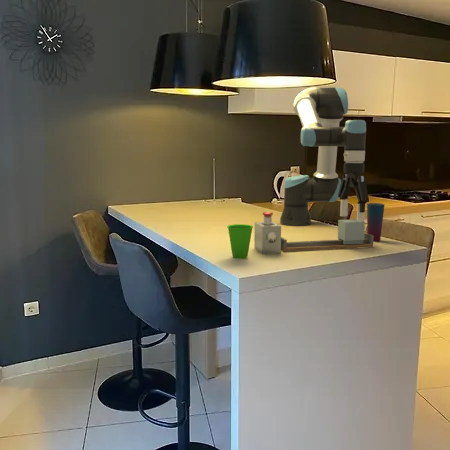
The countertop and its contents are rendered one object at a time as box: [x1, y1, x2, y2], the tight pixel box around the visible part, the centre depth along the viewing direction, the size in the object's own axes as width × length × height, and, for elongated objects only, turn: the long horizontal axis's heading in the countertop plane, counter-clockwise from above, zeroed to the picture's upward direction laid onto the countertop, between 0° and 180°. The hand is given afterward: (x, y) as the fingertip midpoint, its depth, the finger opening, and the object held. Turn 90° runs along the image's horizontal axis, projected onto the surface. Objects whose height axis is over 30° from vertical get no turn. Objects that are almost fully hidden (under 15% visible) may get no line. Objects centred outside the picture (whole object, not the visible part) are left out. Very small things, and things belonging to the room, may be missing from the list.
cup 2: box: [366, 202, 385, 242], centre depth 202 cm, size 7×7×15 cm
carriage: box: [337, 218, 366, 244], centre depth 191 cm, size 6×8×8 cm
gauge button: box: [262, 211, 273, 225], centre depth 183 cm, size 4×4×8 cm
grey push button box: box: [253, 221, 282, 255], centre depth 183 cm, size 11×7×10 cm, turn 13°
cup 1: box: [227, 223, 254, 260], centre depth 173 cm, size 9×9×11 cm
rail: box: [281, 232, 374, 253], centre depth 189 cm, size 6×36×4 cm, turn 103°
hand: (351, 218), depth 190 cm, fingers open, 13 cm apart
